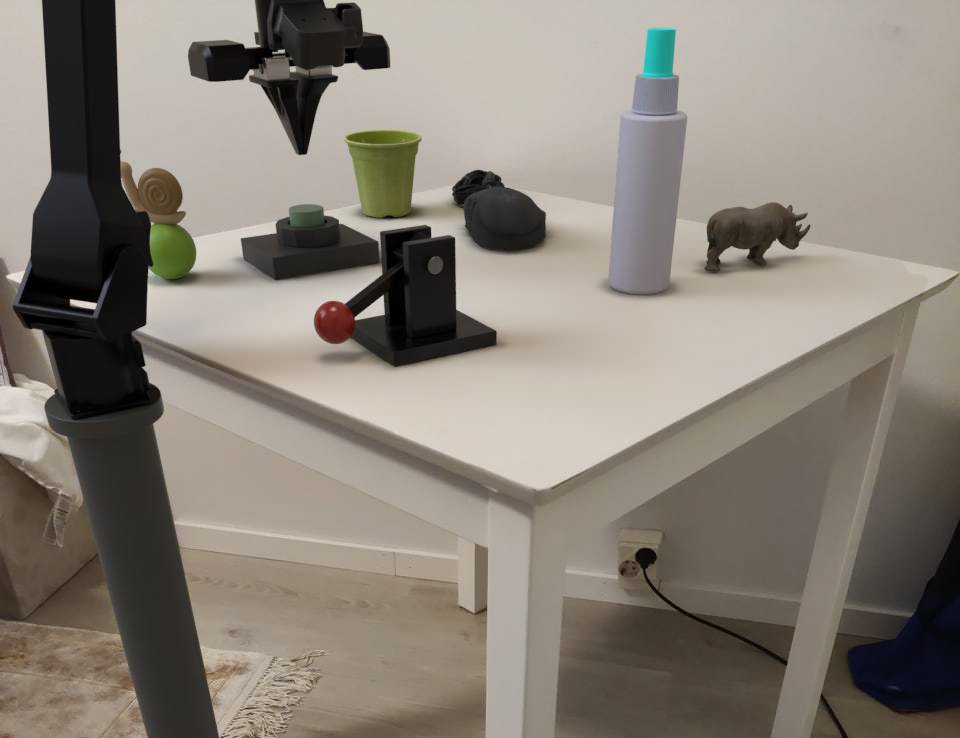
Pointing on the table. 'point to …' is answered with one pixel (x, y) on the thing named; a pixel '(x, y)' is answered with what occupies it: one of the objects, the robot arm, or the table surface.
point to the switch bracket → (421, 304)
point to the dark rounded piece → (498, 213)
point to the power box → (309, 249)
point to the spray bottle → (648, 174)
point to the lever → (357, 302)
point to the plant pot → (384, 170)
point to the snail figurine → (162, 220)
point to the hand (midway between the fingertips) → (301, 154)
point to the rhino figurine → (752, 231)
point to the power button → (306, 215)
